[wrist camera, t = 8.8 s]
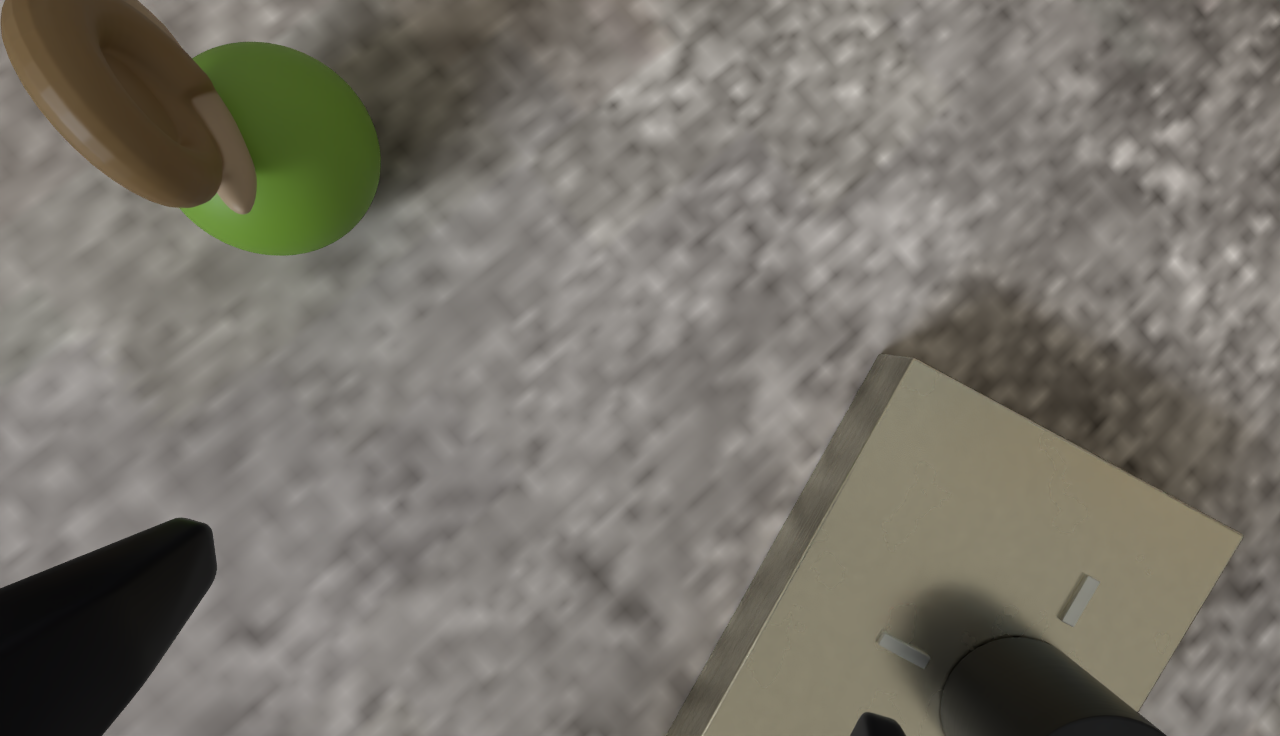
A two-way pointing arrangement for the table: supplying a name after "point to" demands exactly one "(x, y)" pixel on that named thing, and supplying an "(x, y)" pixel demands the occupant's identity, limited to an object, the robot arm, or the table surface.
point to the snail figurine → (201, 122)
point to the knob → (1032, 696)
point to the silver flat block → (951, 567)
